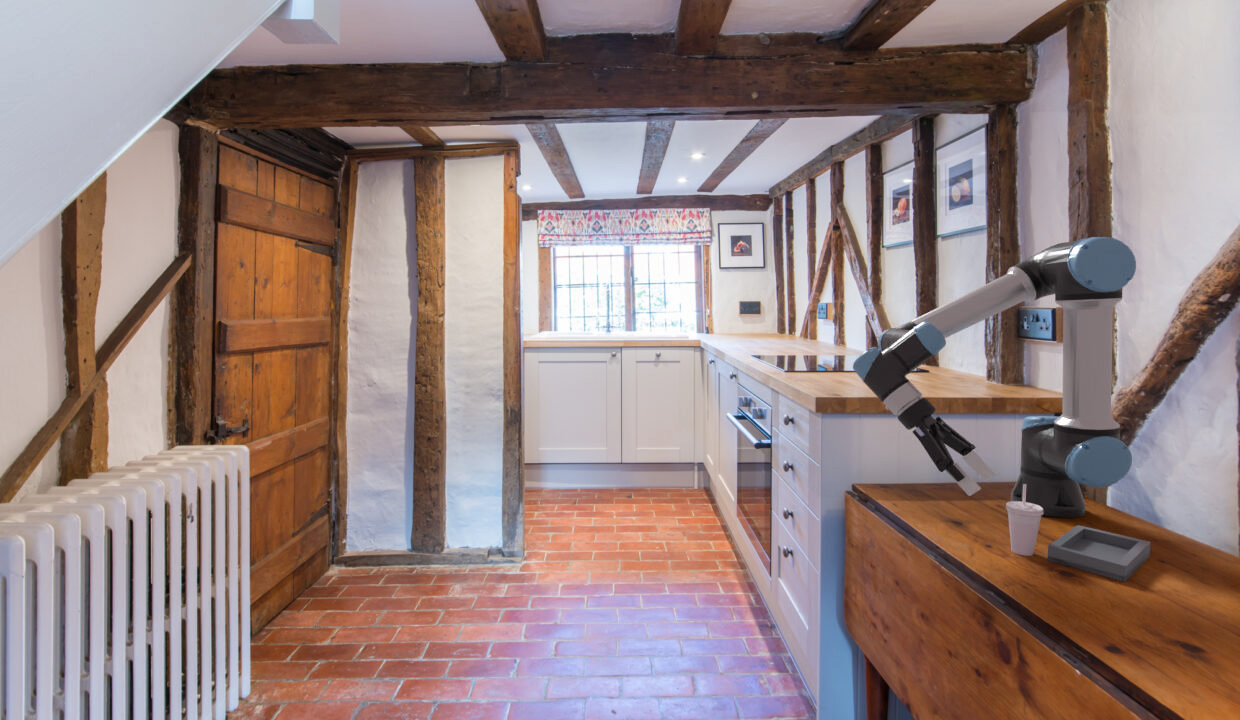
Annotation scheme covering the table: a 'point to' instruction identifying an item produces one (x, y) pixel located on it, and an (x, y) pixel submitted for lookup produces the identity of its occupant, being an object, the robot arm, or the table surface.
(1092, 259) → the robot arm
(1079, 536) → the tray
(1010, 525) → the smoothie
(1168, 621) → the table surface
